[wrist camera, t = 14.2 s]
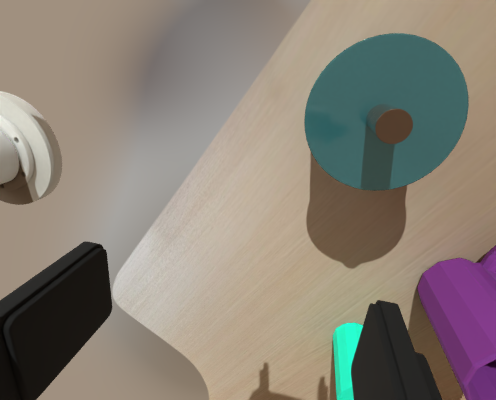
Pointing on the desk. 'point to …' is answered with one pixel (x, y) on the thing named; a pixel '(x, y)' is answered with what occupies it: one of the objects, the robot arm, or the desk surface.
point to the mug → (465, 319)
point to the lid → (386, 111)
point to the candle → (345, 357)
